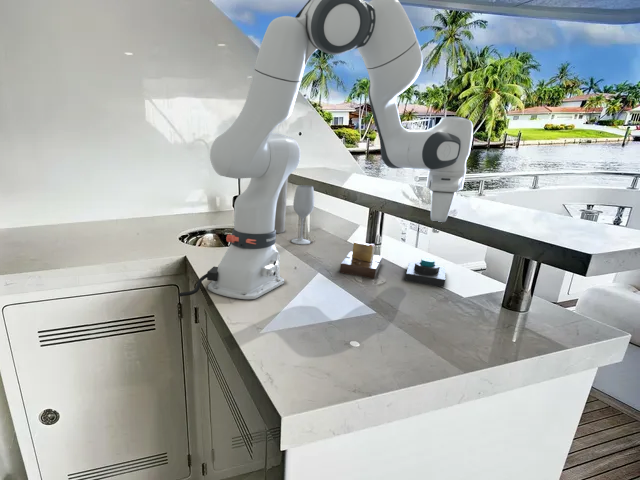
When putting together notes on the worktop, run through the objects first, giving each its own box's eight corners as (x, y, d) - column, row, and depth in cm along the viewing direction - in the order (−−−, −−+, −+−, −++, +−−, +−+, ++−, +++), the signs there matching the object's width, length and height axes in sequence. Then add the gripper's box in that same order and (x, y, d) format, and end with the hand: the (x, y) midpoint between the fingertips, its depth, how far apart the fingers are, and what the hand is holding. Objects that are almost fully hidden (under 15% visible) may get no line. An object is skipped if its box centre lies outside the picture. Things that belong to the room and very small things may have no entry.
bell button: (433, 268, 108) (435, 262, 108) (420, 266, 110) (421, 260, 109) (434, 264, 111) (435, 259, 111) (420, 262, 113) (421, 257, 112)
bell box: (443, 287, 105) (446, 273, 103) (405, 280, 109) (407, 267, 107) (443, 273, 115) (446, 261, 113) (408, 268, 119) (410, 256, 118)
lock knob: (351, 257, 118) (353, 241, 116) (354, 256, 119) (356, 240, 117) (370, 262, 114) (372, 245, 112) (373, 260, 115) (375, 244, 114)
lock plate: (374, 278, 110) (376, 268, 108) (339, 272, 114) (340, 262, 113) (381, 265, 121) (382, 255, 120) (349, 259, 126) (350, 250, 125)
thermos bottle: (261, 230, 160) (264, 162, 151) (272, 227, 166) (276, 161, 157) (277, 234, 156) (281, 163, 146) (288, 230, 161) (292, 162, 152)
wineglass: (312, 244, 142) (317, 188, 135) (291, 244, 142) (295, 187, 135) (309, 239, 149) (313, 185, 142) (289, 238, 149) (293, 184, 142)
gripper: (433, 177, 112) (425, 223, 117) (430, 184, 95) (421, 238, 99) (457, 179, 109) (448, 225, 114) (459, 186, 92) (448, 241, 97)
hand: (435, 231), depth 107 cm, fingers closed
